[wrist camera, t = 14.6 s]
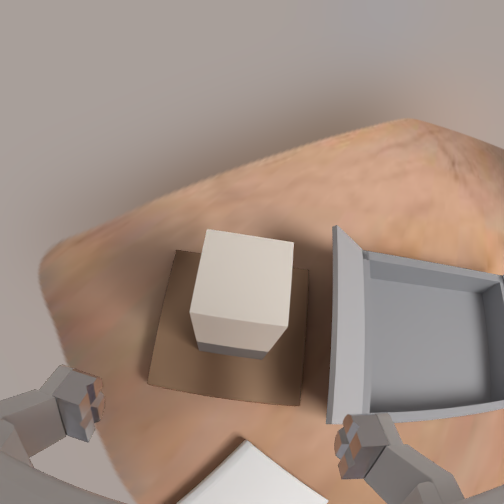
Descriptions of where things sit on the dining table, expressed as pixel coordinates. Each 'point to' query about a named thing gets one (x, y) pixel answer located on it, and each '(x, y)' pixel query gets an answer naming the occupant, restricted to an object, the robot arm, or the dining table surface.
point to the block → (241, 294)
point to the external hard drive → (251, 482)
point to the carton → (413, 337)
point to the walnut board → (219, 365)
